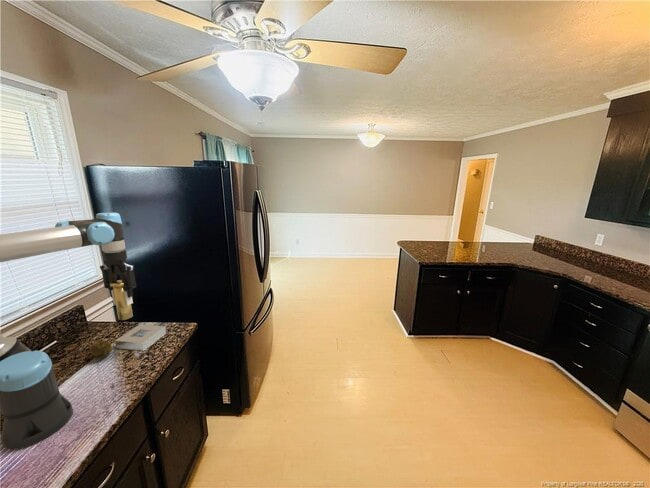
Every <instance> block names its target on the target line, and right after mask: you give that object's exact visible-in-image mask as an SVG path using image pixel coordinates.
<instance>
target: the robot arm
mask: <svg viewBox="0 0 650 488" xmlns="http://www.w3.org/2000/svg"><path fill="white" fill-rule="evenodd" d="M122 221H123V220H122V218H121V215H120V213H118V212H101V213H100V212H99V213H96V214H95V218H92V219H79V220H66V221H59V222H57V223H55V226H54V227H47V228H39V229H31V230H26V231H25V230H24V231H19V232H18V231H16V232H10V233H8V232H7V233H3V234H0V263H4V262H10V261H15V260H21V259H25V258H31V257H36V256H41V255H42V256H43V255H45V254H51V253H56V252H61V251H67V250H72V249H76V248H77V249H78V248H83V247H89V246H101V251H102V257H103V261H104V262H105V264H102V265H100V266H99V269H100V270H101V274H102V280H103V281H102V282H103V286H104V288H105V289H108V290H109V291H110V296H111V298H112V302H113V306H116V302H115V296H114V291H113V287H111V286H110V283H113V282H115V281H117V280H118V276H119V278H120V280H122V283H124V288H125V290H124V296H125V302H126V306H128V305H130V304H131V305H132V304H134V301H133V300H134V299H133V296H134V294H133V289H135V288H137V281H136V277H135V265H134V264H132V265H130V264H129V263H128V262H127V259H128V256H127V255H128V254H127V250H126V243H125V237H124V229H123V222H122ZM0 410H1V413H2V416H3V424H2V431H1V437H0V440H1V442H2V445H3V447H4V448H5V449H7V450H19V449H23V448H26V447H30V446H33V445H35V444H37V443H39V442H42V441H44V440H46V439H47V438H49V437H51V436H52V435H53V434H56V432H58V431H59V430H61V429H62V428H63V427H64V426H66V424H67V423H68V422H69V421H70V419H71V418H72V416H73V415H74V407H73V405H72V403H71V402H70V401H69V399H67V398H66V397H65V396H64V395H62V393H61V392H60V389H59V386H58V382H57V378H56V376H55V371H54V368H53V362H52V359H51V358H50V357H49V355H48V354H47V353H46V352H44V351H42V350H33V351H32V350H31V349H30V348H28V347H27V346H26V345H25V344H23V343H22V342H21V341H20V340H19V339H17V337H14V336H5V337H4V336H3V335H2V334H1V333H0Z"/></svg>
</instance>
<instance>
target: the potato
mask: <svg viewBox="0 0 650 488" xmlns="http://www.w3.org/2000/svg"><path fill="white" fill-rule="evenodd" d="M112 349H113V345H112V344H111V343H110V342H108V341H106V340H98V341H96V342H94V343H93V344H91V345H90V346H89V352H90V353H91V354H92V355H93V356H94V357H96V358H97V359H100V358H103V357H106V356H108V355H109V354H110V353H111V352H112Z"/></svg>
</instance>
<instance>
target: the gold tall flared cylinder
mask: <svg viewBox="0 0 650 488" xmlns="http://www.w3.org/2000/svg"><path fill="white" fill-rule="evenodd" d="M110 286H111V287H113V291H114V296H115V302H116V305H115V306H116V307H115V308H116V312H117V313H116V314H117V319H118V321H126V320H128V319H131V318H132V317H134V315H133V309H132V308H133V306H132V304H130V305H128V306H126V302H125V296H124V290H125V288H124V283H122V280H121V279H119V280H118V279H117V281H115V282H113V283H110Z"/></svg>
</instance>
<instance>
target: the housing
mask: <svg viewBox="0 0 650 488" xmlns="http://www.w3.org/2000/svg"><path fill="white" fill-rule="evenodd" d="M165 335H167V331H166V326H165V325H152V324H139V325H137V326H136V327H133V328H132V329H131V330H129V331H127V332H126V333H125V334H122V335H121V336H120V337H118V338H117V339H115V340H114V343H115V348H116V349H117V350H131V351H132V350H133V351H141V352H144V351H146V350H147V349H148V348H149V347H150V346H152V345H153V344H154V343H156V342H157V341H159V339H161V338H162V337H163V336H165Z"/></svg>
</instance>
